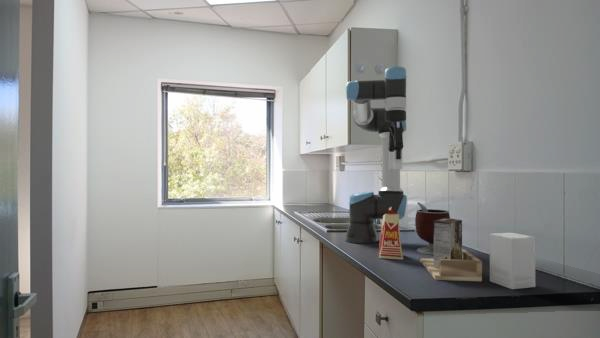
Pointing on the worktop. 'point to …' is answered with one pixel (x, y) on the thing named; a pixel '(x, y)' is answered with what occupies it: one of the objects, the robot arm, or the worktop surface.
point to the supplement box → (512, 260)
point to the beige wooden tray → (455, 268)
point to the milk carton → (390, 237)
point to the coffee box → (447, 240)
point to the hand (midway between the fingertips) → (395, 169)
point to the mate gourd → (428, 226)
